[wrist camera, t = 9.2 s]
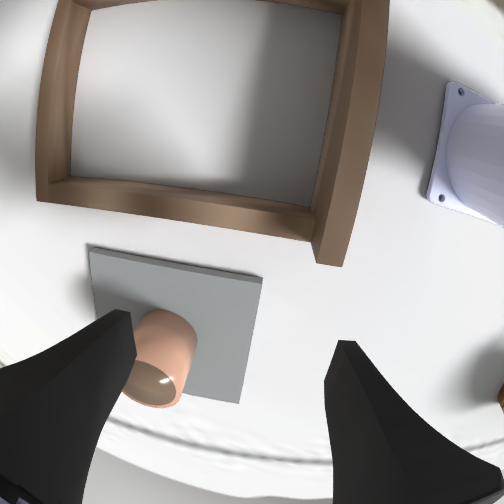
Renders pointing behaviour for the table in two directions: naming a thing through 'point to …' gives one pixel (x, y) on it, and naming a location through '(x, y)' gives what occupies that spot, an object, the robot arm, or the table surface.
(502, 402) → the food container
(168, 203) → the frame
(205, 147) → the table surface
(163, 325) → the clay pot
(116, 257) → the potting mat
